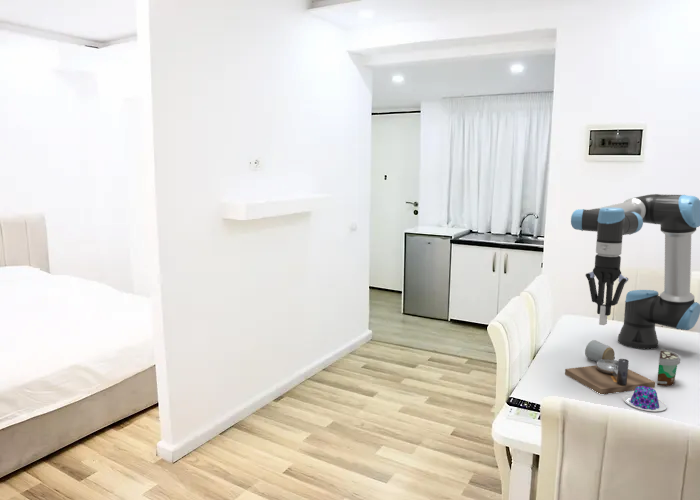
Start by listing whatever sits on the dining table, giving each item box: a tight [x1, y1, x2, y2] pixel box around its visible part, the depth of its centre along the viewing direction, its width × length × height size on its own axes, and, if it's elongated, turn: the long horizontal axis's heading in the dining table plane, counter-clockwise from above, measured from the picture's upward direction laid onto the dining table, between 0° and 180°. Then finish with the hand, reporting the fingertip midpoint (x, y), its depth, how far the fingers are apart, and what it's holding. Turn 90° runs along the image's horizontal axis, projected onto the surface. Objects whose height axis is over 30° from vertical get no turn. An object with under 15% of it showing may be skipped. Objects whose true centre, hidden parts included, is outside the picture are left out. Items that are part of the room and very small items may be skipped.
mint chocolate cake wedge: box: [656, 348, 681, 387], centre depth 179 cm, size 12×6×10 cm, turn 148°
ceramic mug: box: [584, 339, 616, 363], centre depth 199 cm, size 11×8×8 cm
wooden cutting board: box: [564, 364, 656, 395], centre depth 181 cm, size 22×18×2 cm
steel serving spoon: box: [596, 358, 630, 385], centre depth 180 cm, size 18×10×8 cm, turn 167°
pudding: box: [623, 386, 668, 412], centre depth 163 cm, size 12×12×5 cm
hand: (602, 324), depth 172 cm, fingers closed
